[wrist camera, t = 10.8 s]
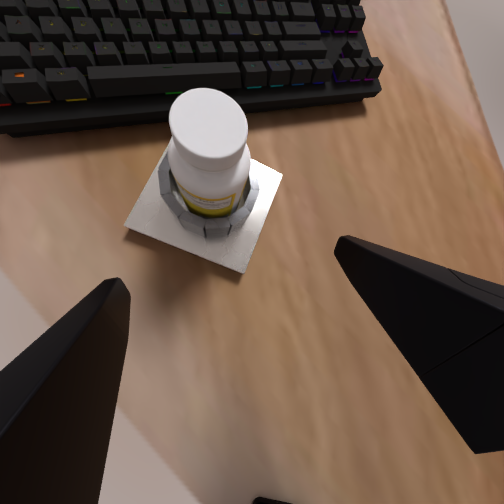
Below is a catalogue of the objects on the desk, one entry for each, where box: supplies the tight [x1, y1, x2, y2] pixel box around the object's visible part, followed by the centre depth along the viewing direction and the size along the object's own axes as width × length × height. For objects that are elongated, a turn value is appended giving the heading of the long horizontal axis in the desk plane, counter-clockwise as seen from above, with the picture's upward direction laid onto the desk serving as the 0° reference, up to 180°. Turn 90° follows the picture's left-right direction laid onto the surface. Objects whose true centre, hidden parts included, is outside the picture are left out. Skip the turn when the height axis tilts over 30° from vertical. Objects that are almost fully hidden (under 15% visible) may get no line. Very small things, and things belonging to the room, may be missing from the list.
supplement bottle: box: [168, 88, 251, 219], centre depth 14 cm, size 5×5×10 cm
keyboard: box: [0, 0, 384, 138], centre depth 20 cm, size 42×16×5 cm, turn 108°
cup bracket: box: [124, 142, 282, 274], centre depth 18 cm, size 12×12×5 cm
